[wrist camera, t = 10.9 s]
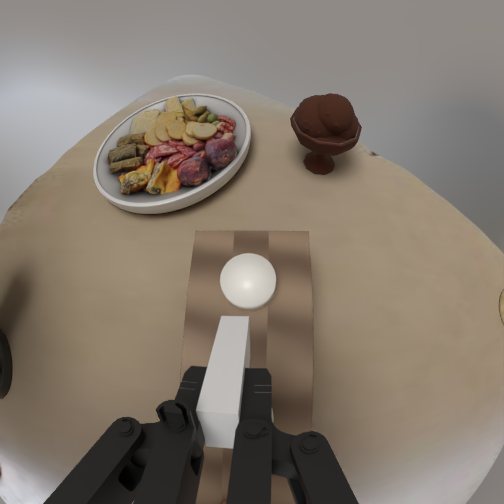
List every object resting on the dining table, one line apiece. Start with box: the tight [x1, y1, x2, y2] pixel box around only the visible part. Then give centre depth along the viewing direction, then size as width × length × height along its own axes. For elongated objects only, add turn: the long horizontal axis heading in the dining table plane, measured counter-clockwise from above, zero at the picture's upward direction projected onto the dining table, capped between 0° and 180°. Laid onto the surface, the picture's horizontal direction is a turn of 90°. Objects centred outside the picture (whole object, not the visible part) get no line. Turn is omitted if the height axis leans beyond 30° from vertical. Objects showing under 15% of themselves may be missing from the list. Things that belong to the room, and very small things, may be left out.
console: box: [180, 231, 313, 504], centre depth 26 cm, size 36×12×10 cm, turn 178°
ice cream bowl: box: [290, 94, 362, 175], centre depth 39 cm, size 11×11×15 cm
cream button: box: [220, 253, 276, 311], centre depth 27 cm, size 5×5×6 cm
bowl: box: [93, 94, 251, 214], centre depth 45 cm, size 30×30×8 cm
